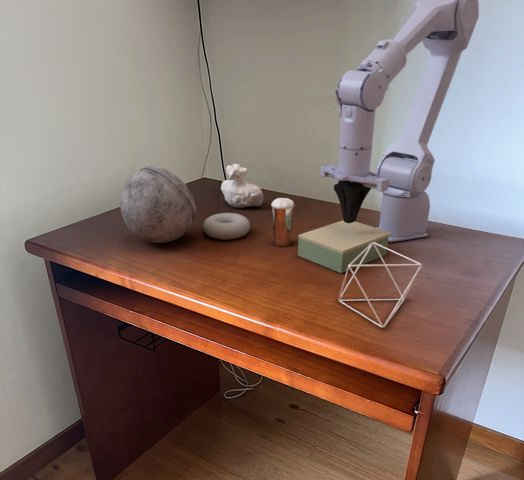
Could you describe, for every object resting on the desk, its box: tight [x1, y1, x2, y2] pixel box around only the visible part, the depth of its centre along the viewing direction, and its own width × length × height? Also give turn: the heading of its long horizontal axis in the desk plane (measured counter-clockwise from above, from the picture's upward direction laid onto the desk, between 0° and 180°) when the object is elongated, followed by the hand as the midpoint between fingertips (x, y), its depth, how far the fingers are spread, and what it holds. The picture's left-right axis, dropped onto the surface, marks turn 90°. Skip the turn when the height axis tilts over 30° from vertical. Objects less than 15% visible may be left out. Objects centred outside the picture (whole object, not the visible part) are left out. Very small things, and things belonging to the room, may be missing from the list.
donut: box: [202, 212, 251, 241], centre depth 116 cm, size 10×4×10 cm
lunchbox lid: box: [298, 219, 391, 254], centre depth 104 cm, size 14×11×1 cm
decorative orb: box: [119, 165, 197, 244], centre depth 109 cm, size 15×14×15 cm
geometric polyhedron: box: [338, 242, 423, 329], centre depth 85 cm, size 12×11×9 cm
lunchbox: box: [297, 237, 389, 274], centre depth 105 cm, size 13×11×4 cm
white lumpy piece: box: [220, 163, 264, 209], centre depth 130 cm, size 12×8×11 cm
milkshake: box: [270, 196, 298, 247], centre depth 109 cm, size 4×5×10 cm
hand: (349, 221), depth 104 cm, fingers closed
